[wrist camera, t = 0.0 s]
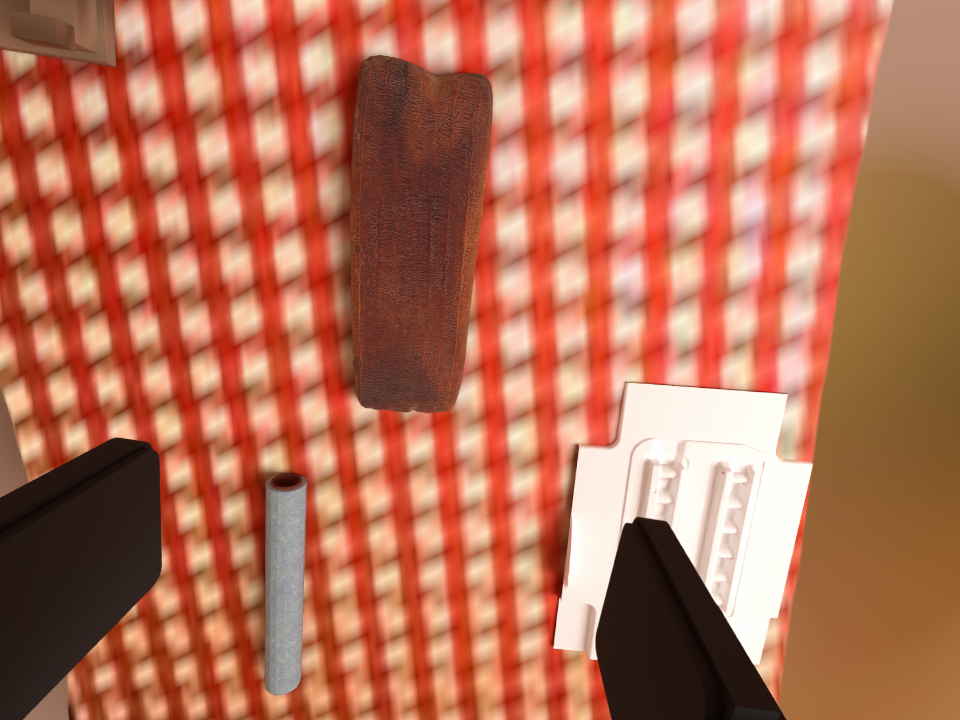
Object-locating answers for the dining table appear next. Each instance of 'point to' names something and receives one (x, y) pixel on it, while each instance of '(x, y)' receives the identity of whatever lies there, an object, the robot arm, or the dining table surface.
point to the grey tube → (284, 581)
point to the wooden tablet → (415, 230)
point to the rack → (60, 29)
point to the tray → (688, 504)
